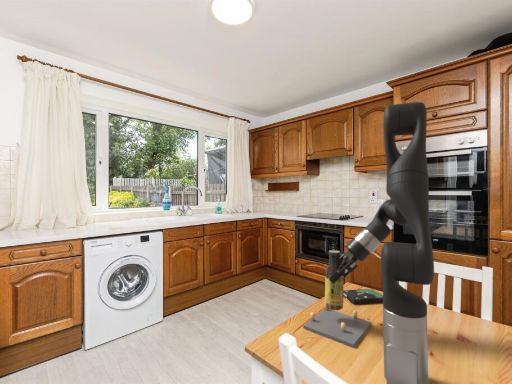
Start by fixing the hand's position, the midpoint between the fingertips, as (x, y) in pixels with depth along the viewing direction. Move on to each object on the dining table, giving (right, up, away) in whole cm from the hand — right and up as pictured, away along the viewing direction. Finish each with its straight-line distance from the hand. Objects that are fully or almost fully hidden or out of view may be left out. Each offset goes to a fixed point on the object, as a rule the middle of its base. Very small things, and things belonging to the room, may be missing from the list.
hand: (329, 278), depth 90 cm
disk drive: (+21, -16, +20) cm, 33 cm away
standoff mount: (+2, -15, -4) cm, 16 cm away
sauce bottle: (+2, -10, 0) cm, 11 cm away
